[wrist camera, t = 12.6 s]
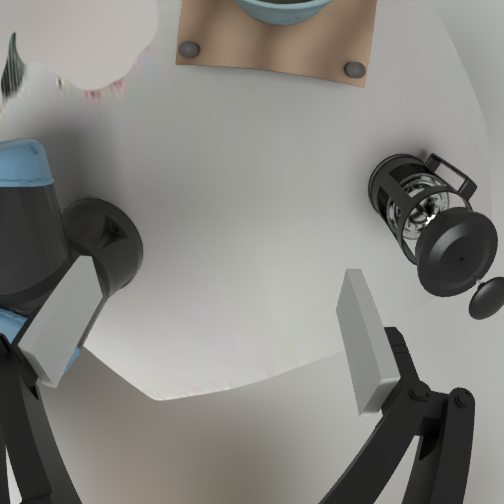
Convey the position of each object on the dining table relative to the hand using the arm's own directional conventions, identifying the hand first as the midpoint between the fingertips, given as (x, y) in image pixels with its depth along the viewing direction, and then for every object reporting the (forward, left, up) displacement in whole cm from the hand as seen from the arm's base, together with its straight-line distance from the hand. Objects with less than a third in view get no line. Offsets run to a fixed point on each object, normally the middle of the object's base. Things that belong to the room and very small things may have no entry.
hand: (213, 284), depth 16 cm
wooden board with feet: (+1, +19, -25) cm, 32 cm away
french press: (+20, -1, -26) cm, 33 cm away
